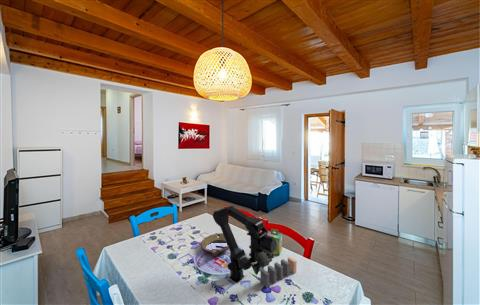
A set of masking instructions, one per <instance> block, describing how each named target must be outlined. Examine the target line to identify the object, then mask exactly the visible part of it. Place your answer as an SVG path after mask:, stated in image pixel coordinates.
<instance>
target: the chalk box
mask: <svg viewBox="0 0 480 305" xmlns="http://www.w3.org/2000/svg"><path fill="white" fill-rule="evenodd" d="M267 235H268V236H272V237H274V240H276V242H277V247H276V249H275V251H274V252H273V256H278V257H279V256H280V255H281V253H282V250H283V233H281V232H279V229H274V228H271V230H270V231H269V232H268V234H267Z"/></svg>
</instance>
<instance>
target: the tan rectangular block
mask: <svg viewBox="0 0 480 305" xmlns="http://www.w3.org/2000/svg"><path fill="white" fill-rule="evenodd" d="M287 262H288V263H290V272H291V273H293V274H296V273H297V260H295V259H294V258H293V257H291V256H288V257H287Z"/></svg>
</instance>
